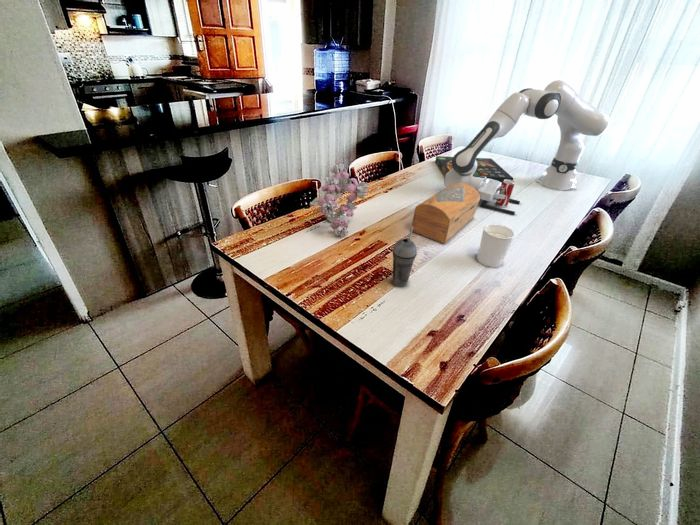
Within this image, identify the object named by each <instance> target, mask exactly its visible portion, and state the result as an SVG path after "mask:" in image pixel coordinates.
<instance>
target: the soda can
mask: <svg viewBox="0 0 700 525" xmlns="http://www.w3.org/2000/svg"><path fill="white" fill-rule="evenodd" d="M514 187H515V181H514V180H513V181H512V180H508V179H506V180H504V181H503V183H502V184H501V189H500V191H498V194H505V195H506V196H505V199H496V201H495V205H496V207H498V208H506V207H508V205H509V203H510V202H509V199H511V196H512V193H513V190H514Z"/></svg>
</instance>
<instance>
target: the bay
mask: <svg viewBox="0 0 700 525" xmlns="http://www.w3.org/2000/svg"><path fill="white" fill-rule="evenodd" d="M493 199H495V198H493ZM495 200H496V199H495ZM487 203H488V201H486V200H482V202H481V204H480V205H479V207H480V208H483V209H488V210H491V211H495V212H500V213H503V214H507V215H512V216H515V214H516V211H513V210H509V209H506V208H503V207H499V206H495V205H489V204H487ZM508 203H512V204H516V205H520V203H521V201H520V200H517V199H514V198H510V199H509V202H508Z"/></svg>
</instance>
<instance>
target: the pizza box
mask: <svg viewBox="0 0 700 525" xmlns="http://www.w3.org/2000/svg"><path fill="white" fill-rule="evenodd" d="M453 157H454V156H442V155H438V156H437V155H436V156H435V161H434V162H435V163H436V166H437V167H438V168H439V170H440V171H441V173H442V175H443V177H445V175H446V173H447V172H449V171H450V170H451V169H452V168H453V167H452V159H453ZM476 161H477V169H476V171H475V173H474V175H473V177H481V176H485V177H486V179H487V178H489V179H493V180H497V181H500V182H501V185H502V183H503V181H504V180H506V179H508V180H512V181H514V177H513V176H512V175H510V174H509V173H508V172H507V170H505V169H504V168H503V167H502V166H500V164H498V163H497V162H496V161H495V160H494V159H492V158H488V157H476Z"/></svg>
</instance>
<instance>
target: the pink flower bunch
mask: <svg viewBox="0 0 700 525" xmlns="http://www.w3.org/2000/svg"><path fill="white" fill-rule="evenodd" d="M344 169H345V164H344V163H338V164H337V162H334V164H333V165H331V166H329V171H330V172H331V175H330V176H326V177H325V179H324V181H325V183H326V184H325V185H322V186H321V191H322V192H323V193H324V196H323V197H322V196H321V197H315V198H314V199H313V200H312V201H311V202H310V203H309V206H319V207H317V210H318V212H319V213H321V214H323V215H324V218H326V219H327V220H328V221H329V222H330V225H329V226H330V227H331V228H330V229H332V230H334V233H335V234H336V237H338V236H340V237H341V238H342V239H343V236H345V234H347V235H349V230H348V227H349V219H347V218H346V217H348V218H352V217H354V215H355V213H354V211H355V210H356V209H358V206H356V201H357V198H358V199H360V200H365V199H366V198H365V197H366V196H369V195H368V191H369V189H368V188H369V185H368V184H367V183H366V182H365V181H361V182H358V180H357V178H355V177H351V178H350V173H348V172H347V171H344ZM342 176H343V177H344V178H345V179H346V180H349V181H350V182H352V183H347V184H346V186H345V189H343V190H342ZM349 178H350V179H349ZM338 183H339V184H340V185H338ZM346 191H347V192H349V193H350V194H349V195H348V196H346V200H347V201H346V204H344V203H343V204H340V205H339V201H338V200H337V199H339V198H342V197H343V193H344V192H346ZM325 192H326V193H325ZM371 192H372V190H370V191H369V193H371ZM364 196H365V197H364ZM335 209H336V210H335Z"/></svg>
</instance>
